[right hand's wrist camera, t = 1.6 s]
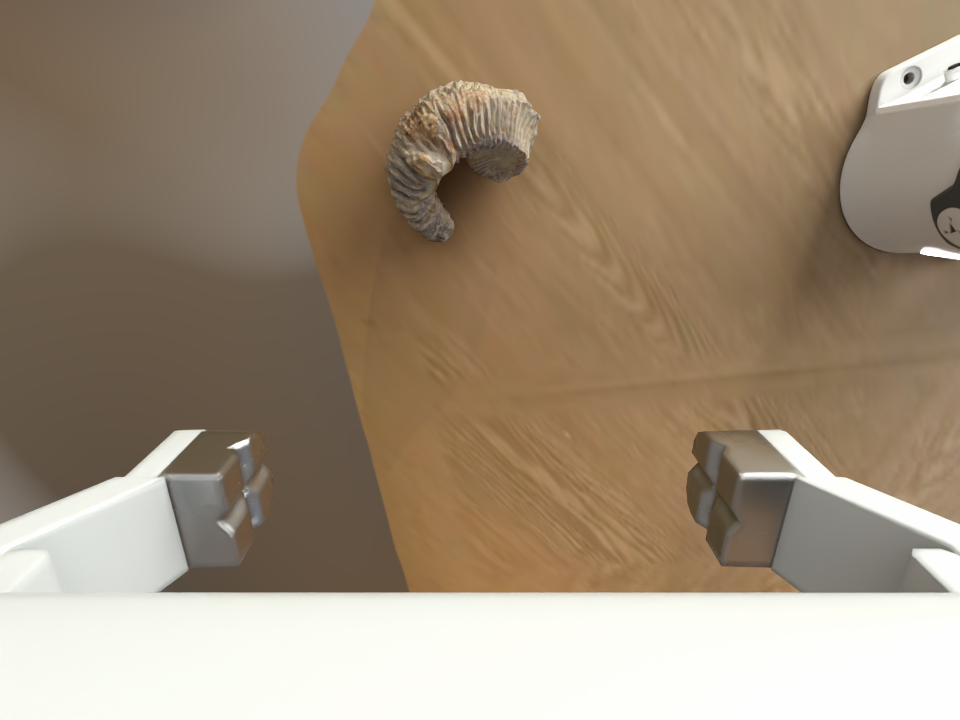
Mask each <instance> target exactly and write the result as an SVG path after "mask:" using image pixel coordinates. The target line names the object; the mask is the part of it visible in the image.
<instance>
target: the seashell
mask: <svg viewBox="0 0 960 720" xmlns="http://www.w3.org/2000/svg"><path fill="white" fill-rule="evenodd" d="M539 120H540V115H539V114H538V113H536V112H535V111H534V110H532V106H531V103H528V101H527V99H526V98H525V95H524V94H523V93H521V92H518V90H517V89H516V90H509V89H496V88H495V87H492V86H491V85H486V84H481V83H478V82H475V83H473V82H471V83H470V82H467V81H466V82H463V81H461V80H460V81H458V82H456V81H453V82H451V83H448V84H447V85H446V86H445V87H443V86H439V88H437V89H435V90H431V91H429V92H428V94H427V95H425V96H424V97H423V98H420V99H419V103H418V105H416V106H413V108H412V111H410V112H406V113H405V116H403V117H402V118H401V119H399V124H400V125H398V127H397V129H396V131H395V135H396V136H395V137H394V138H393V140H392V143H391V144H390V145H391V148H390V152H388V153H387V159H386V160H387V162H388V163H386V165H385V167H384V170H385V171H386V173H387V174H388V175H389V176H388V178H387V180H388V184H389V185H390V186H391V190H390V193H391V195H392V196H393V198H394V201H396V202H395V206H396V207H397V208H398V209H399V210H400V211H401V215H402V216H403V217H404V218H406V220H407V222H408V224H409V225H410V226H411V227H412V229H413V230H415V231H420V232H421V233H422V235H423V236H424V237H425V238H426V239H427V240H428V241H433V242H446V241H447V239H448V238H449V237H451V236H452V235H453V230H454V228H455V227H454V222H453V220H452V219H451V218H450V214H449V212H448V211H447V210H446V209H445V208H444V207H443V203H441V201H440V199H439V198H438V196H437V192H436V191H435V190H436V189H437V187H438V185H439V181H440V180H441V178H442V177H443V176H444V175H445V174H447V173H448V172H450V171H451V170H452V168H453V166H454V163H458V162H459V158H465V159H466V161H467V163H468V165H469V168H470V169H471V170H472V171H474V172H476V173H477V174H480V175H481V176H483V177H485V178H486V177H488V178H490V179H493V180H494V181H495V182H497V183H500V182H502V181H507V180H508V179H509V178H511V177H513V176H516V175H519V174H520V173H521V172H522V171H523V170H524V169H525V168H526V166H527V165H528V159H529V155H530V153H531V150H532V148H533V144H534V141H535V140H536V137H537V125H538V122H539Z"/></svg>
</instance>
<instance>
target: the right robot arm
mask: <svg viewBox="0 0 960 720" xmlns="http://www.w3.org/2000/svg"><path fill="white" fill-rule="evenodd" d="M906 74H907V75H908V80H907V82H906V83H904V81H903V79H904V76H905V75H906ZM840 201H841V207H842V211H843V214H844V217H845V219H846V221H847V223H848V225H849V227H850V228H851V230H852V231H853V232H854V233H855V235H856V236H857V237H858V238H859V239H861V240H862V241H863V242H865V243H866V244H868V245H869V246H871V247H873V248H876V249H878V250H881V251H885V252H890V253H921V254H925V255H931V256H938V257H941V258H944V259H949V260H957V261H960V34H959V35H957V36H955V37H953V38H951V39H949V40H947V41H945V42H943V43H941V44H939V45H937V46H935V47H933V48H931V49H929V50H927V51H925V52H923V53H921V54H919V55H916V56H914V57H912V58H910V59H908V60H906V61H904V62H902V63H900V64H898V65H896V66H894V67H892V68H890V69H888V70H886V71H884V72H883V73H881V74H880V75H879V76H878V77H877V79H876V80H875V82H874V84H873V86H872V89H871V93H870V97H869V102H868V108H867V114H866V118H865V120H864V123H863V125H862V127H861V129H860V130H859V132H858V134H857V136H856V137H855V139H854V141H853V143H852V145H851V147H850V149H849V151H848V154H847V156H846V159H845V162H844V165H843V169H842V174H841V180H840ZM267 453H268V449H267V445H266V440H265V436H264V435H263V434H262V433H261V432H260V431H221V430H207V431H206V430H180V431H174V432H173V433H172V434H171V435H170V436H169V437H168V438H167V439H166V440H165V441H163V442H162V443H161V444H160V445H159V446H158V447H157V448H156V449H155V450H154V451H152V452H151V453H150V454H149V455H148V456H147V457H146V458H145V459H144V460H143V461H142V462H140V463H139V464H138V465H137V466H136V467H135V468H134V469H133V470H132V471H131V472H130V473H128V474H127V475H126V476H125V477H115V478H112V479H110V480H107V481H105V482H103V483H100V484H98V485H95V486H93V487H91V488H88V489H85V490H83V491H81V492H78V493H76V494H73V495H71V496H69V497H66V498H63V499H61V500H59V501H56V502H54V503H51V504H49V505H46V506H44V507H42V508H39V509H37V510H34V511H32V512H29V513H27V514H24V515H22V516H20V517H17V518H15V519H12V520H10V521H7V522H5V523H2V524H0V720H960V524H957V523H955V522H952V521H950V520H948V519H945V518H943V517H940V516H938V515H935V514H933V513H931V512H928V511H926V510H923V509H921V508H918V507H916V506H913V505H911V504H909V503H906V502H904V501H901V500H899V499H896V498H894V497H892V496H889V495H887V494H884V493H882V492H879V491H877V490H874V489H872V488H870V487H867V486H865V485H862V484H860V483H857V482H855V481H853V480H850V479H848V478H845V477H835V476H834V475H833V474H832V473H830V472H829V471H828V470H827V469H826V468H825V467H824V466H823V465H822V464H821V463H820V462H819V461H817V460H816V459H815V458H814V457H813V456H812V455H811V454H810V453H809V452H808V451H807V450H805V449H804V448H803V447H802V446H801V445H800V444H799V443H798V442H797V441H796V440H795V439H794V438H792V437H791V436H790V435H789V434H788V433H787V432H785V431H782V430H744V431H704V432H698V433H697V435H696V437H695V440H694V444H693V449H692V453H693V455H694V456H695V458H696V459H697V461H698V463H697V464H696V465H695V466H694V467H693V468H692V469H691V470H690V471H689V472H688V479H687V486H686V491H687V502H688V505H689V509H690V512H691V514H692V516H693V518H694V520H695V521H696V523H698V524H700V525H701V526H703V527H704V528H706V529H708V530H707V535H706V541H707V542H708V544H709V546H710V547H711V549H712V551H713V552H714V554H715V556H716V558H717V559H718V561H719V563H720V564H721V566H736V567H772V568H771V570H772V571H774V572H775V573H776V574H778V575H779V576H780V577H782V578H783V579H784V580H786V581H787V582H788V583H790V584H791V585H792V586H794V587H795V588H796V589H798V590H799V591H800V592H802V593H159V592H160V591H161V590H162V589H164V588H165V587H166V586H168V585H169V584H170V583H172V582H173V581H174V580H176V579H177V578H178V577H180V576H181V575H182V574H184V573H185V572H186V571H188V567H222V566H239V564H240V563H241V561H242V559H243V558H244V556H245V554H246V552H247V551H248V549H249V547H250V546H251V544H252V542H253V540H254V535H253V530H252V529H254V528H256V527H257V526H259V525H260V524H262V523H264V521H265V519H266V518H267V516H268V514H269V512H270V509H271V504H272V500H273V478H272V472H271V471H270V470H269V469H268V468H267V467H266V466H265V465H264V464H263V463H262V461H263V459H264V458H265V456H266V454H267Z"/></svg>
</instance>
